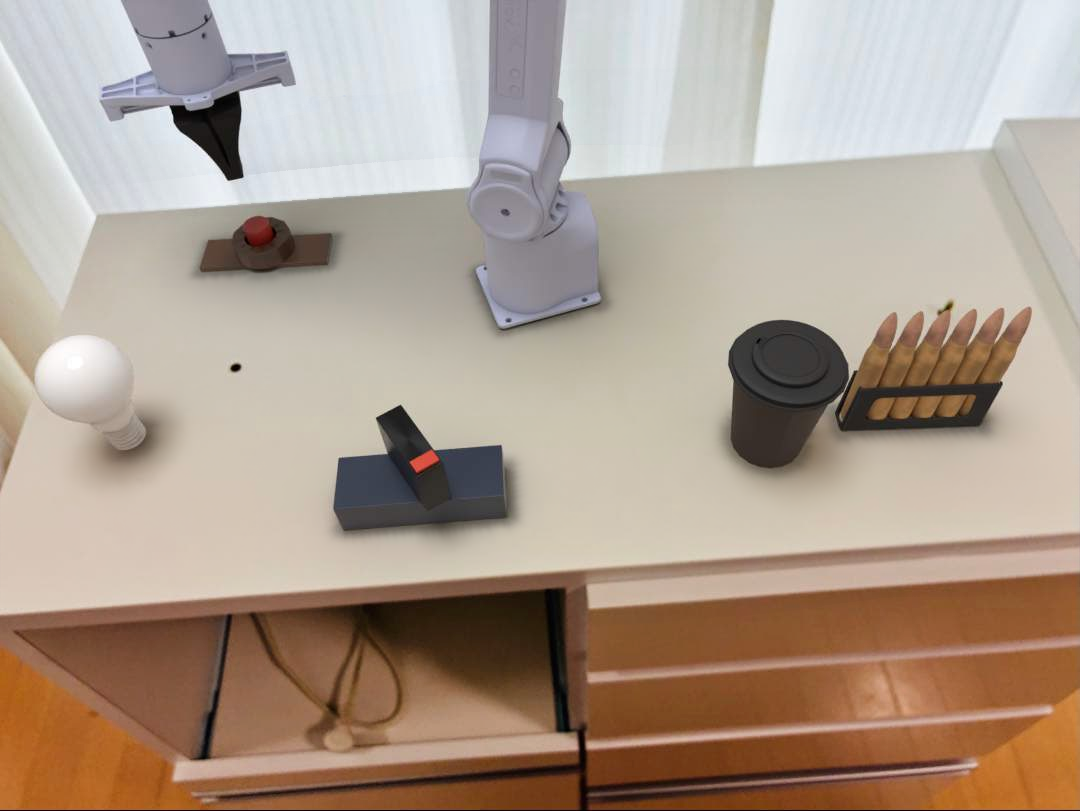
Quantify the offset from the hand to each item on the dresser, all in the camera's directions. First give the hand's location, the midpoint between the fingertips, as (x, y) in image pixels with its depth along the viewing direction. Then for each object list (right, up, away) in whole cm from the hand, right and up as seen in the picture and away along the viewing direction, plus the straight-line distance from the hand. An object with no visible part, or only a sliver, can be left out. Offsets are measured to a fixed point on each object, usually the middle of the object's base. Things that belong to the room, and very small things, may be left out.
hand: (235, 173), depth 71 cm
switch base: (+18, -27, -10) cm, 34 cm away
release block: (0, -6, +7) cm, 9 cm away
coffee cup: (+44, -23, -8) cm, 50 cm away
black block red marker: (+18, -25, -12) cm, 33 cm away
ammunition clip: (+55, -21, -7) cm, 59 cm away
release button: (0, -5, +6) cm, 7 cm away
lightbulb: (-6, -23, -5) cm, 25 cm away
